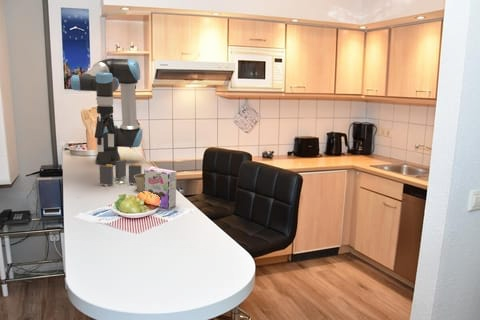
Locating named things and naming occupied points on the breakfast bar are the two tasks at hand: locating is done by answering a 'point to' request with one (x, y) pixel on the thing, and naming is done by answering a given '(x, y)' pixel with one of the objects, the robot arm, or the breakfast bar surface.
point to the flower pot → (139, 182)
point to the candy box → (161, 185)
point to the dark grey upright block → (106, 175)
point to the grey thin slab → (134, 172)
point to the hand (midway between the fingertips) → (105, 149)
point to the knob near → (120, 168)
